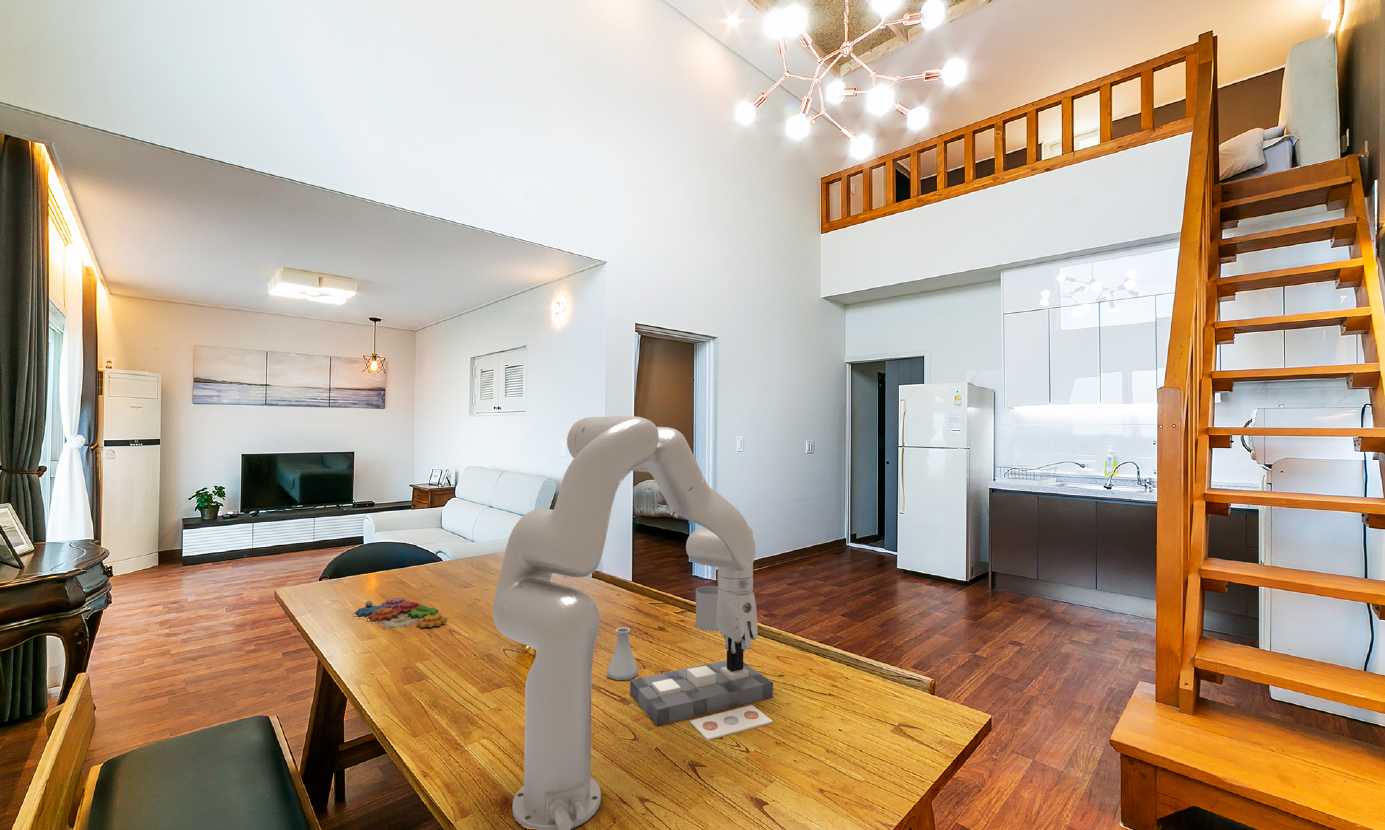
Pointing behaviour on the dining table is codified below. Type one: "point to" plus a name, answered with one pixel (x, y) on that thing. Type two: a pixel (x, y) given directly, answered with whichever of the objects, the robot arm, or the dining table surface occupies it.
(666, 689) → the button
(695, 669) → the button
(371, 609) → the gear puzzle
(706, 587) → the cup
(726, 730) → the pattern card
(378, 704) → the dining table surface
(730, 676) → the button
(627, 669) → the flask
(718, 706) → the button board
